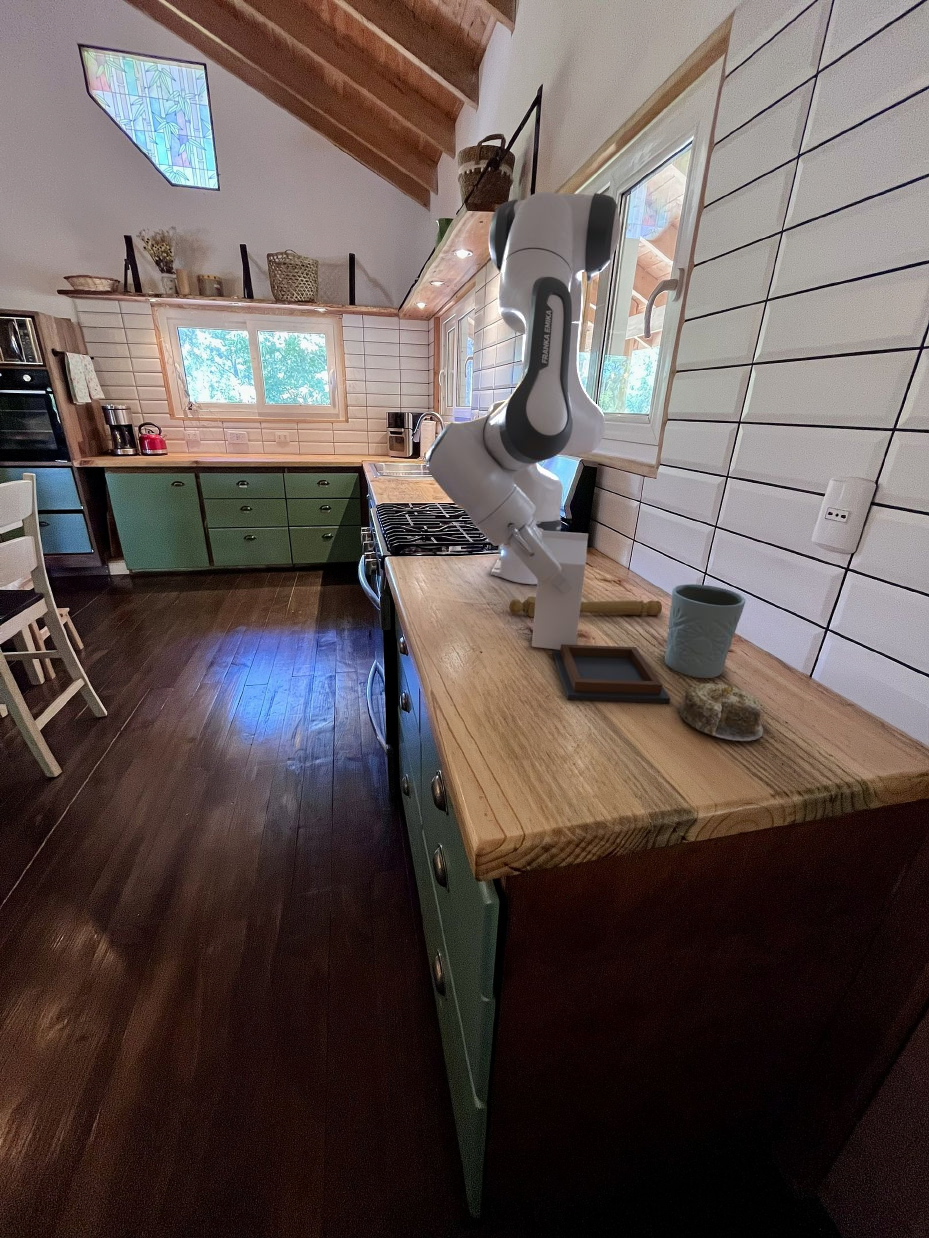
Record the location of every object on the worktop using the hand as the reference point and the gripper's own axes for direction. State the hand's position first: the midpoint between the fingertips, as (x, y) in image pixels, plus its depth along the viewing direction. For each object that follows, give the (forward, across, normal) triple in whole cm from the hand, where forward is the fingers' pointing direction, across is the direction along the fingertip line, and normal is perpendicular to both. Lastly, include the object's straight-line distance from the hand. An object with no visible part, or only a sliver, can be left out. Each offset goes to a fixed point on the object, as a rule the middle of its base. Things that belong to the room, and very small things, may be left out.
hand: (563, 580), depth 81 cm
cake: (+20, -23, -4) cm, 31 cm away
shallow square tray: (+12, -12, +4) cm, 17 cm away
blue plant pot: (+22, -7, -7) cm, 24 cm away
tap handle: (+13, +13, +3) cm, 19 cm away
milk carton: (+8, 0, +8) cm, 11 cm away
